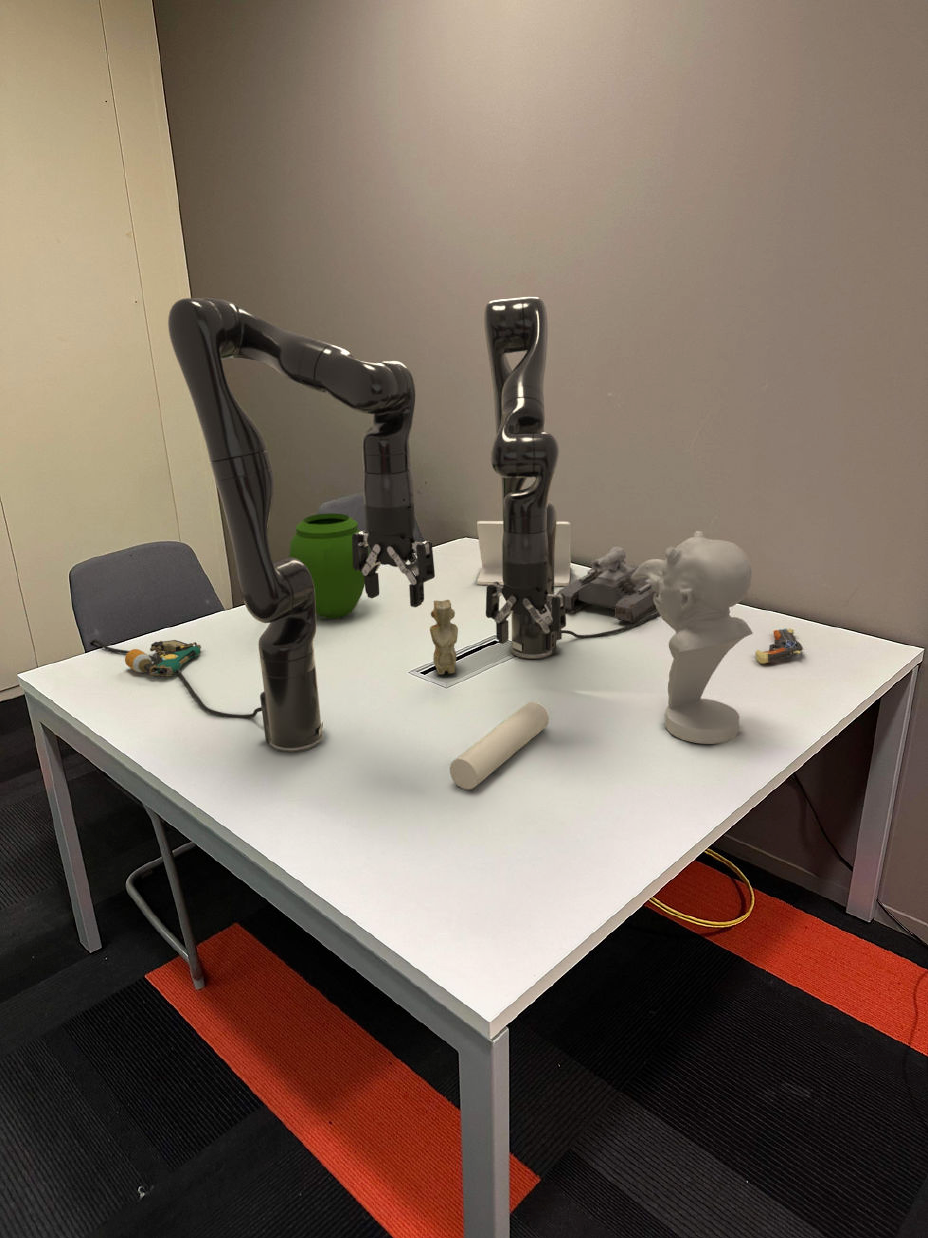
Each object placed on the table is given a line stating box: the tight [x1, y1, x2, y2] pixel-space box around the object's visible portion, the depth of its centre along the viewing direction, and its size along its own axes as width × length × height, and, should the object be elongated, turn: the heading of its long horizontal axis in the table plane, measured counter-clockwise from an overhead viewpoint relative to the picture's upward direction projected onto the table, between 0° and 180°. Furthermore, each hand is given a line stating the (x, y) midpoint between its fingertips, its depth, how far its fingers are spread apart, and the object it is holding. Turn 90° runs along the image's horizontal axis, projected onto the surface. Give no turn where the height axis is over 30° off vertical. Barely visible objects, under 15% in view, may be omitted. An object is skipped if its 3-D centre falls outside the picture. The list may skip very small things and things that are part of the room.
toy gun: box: [754, 628, 805, 664], centre depth 185 cm, size 3×19×10 cm
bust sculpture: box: [631, 530, 754, 745], centre depth 151 cm, size 16×24×35 cm, turn 28°
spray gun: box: [124, 639, 202, 677], centre depth 186 cm, size 4×17×15 cm
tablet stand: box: [476, 520, 572, 587], centre depth 236 cm, size 18×25×17 cm
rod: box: [449, 701, 550, 790], centre depth 144 cm, size 24×5×5 cm, turn 146°
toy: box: [555, 546, 656, 624], centre depth 212 cm, size 25×20×15 cm
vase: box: [288, 512, 370, 620], centre depth 209 cm, size 20×20×24 cm
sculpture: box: [429, 599, 459, 675], centre depth 177 cm, size 6×7×15 cm
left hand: (394, 601), depth 134 cm, fingers open, 8 cm apart
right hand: (525, 647), depth 146 cm, fingers open, 8 cm apart
